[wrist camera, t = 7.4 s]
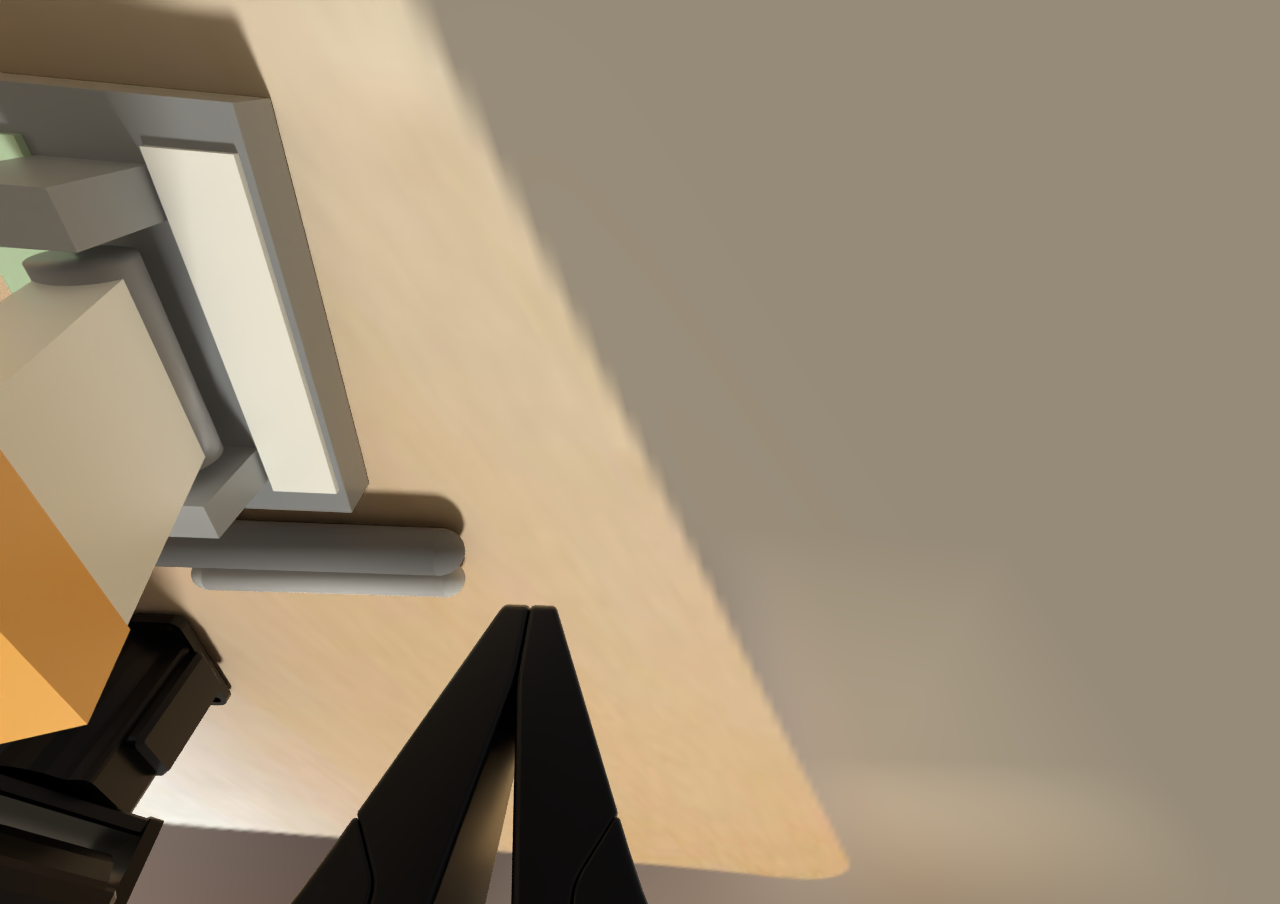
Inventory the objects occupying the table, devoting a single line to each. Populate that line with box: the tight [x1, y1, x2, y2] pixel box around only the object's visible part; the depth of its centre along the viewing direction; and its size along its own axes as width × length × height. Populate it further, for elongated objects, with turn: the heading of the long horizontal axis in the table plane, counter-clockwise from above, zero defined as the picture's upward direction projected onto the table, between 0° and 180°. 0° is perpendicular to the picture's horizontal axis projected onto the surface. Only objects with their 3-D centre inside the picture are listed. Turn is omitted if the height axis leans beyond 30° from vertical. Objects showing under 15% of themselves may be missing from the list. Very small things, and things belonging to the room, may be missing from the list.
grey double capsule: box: [155, 520, 465, 597], centre depth 21 cm, size 12×3×2 cm, turn 85°
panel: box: [0, 73, 369, 538], centre depth 15 cm, size 7×12×4 cm, turn 175°
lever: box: [0, 245, 223, 744], centre depth 11 cm, size 2×6×10 cm, turn 175°
